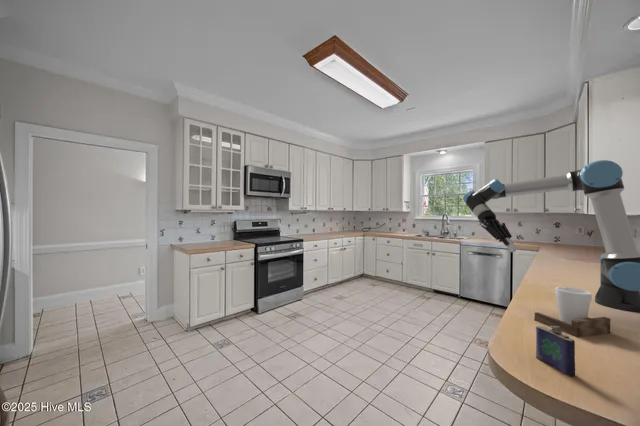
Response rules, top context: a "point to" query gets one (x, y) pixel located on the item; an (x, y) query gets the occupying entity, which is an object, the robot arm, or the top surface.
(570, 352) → the flask
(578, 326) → the corral
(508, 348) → the top surface
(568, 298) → the foam cup
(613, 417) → the top surface
